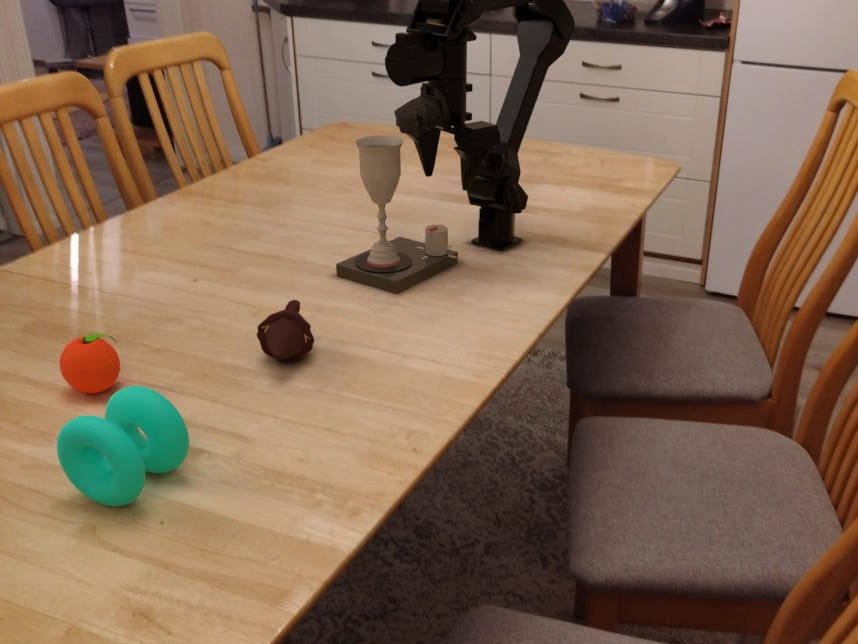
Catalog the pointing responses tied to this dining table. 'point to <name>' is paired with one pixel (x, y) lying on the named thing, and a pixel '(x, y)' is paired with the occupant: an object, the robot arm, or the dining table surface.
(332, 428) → the dining table surface
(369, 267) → the burner
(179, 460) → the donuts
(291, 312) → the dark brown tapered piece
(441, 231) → the hob knob
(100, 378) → the clementine
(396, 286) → the hob
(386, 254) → the chalice
